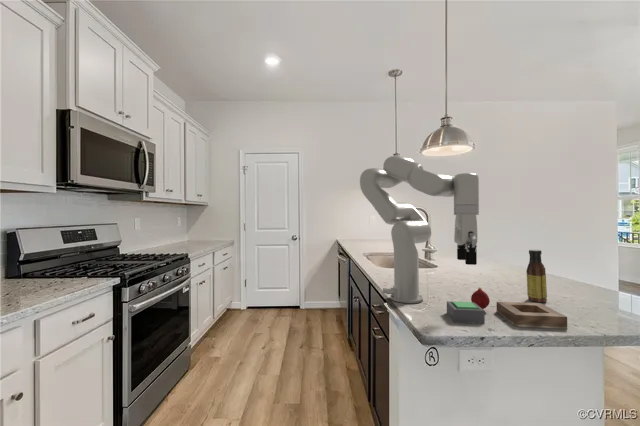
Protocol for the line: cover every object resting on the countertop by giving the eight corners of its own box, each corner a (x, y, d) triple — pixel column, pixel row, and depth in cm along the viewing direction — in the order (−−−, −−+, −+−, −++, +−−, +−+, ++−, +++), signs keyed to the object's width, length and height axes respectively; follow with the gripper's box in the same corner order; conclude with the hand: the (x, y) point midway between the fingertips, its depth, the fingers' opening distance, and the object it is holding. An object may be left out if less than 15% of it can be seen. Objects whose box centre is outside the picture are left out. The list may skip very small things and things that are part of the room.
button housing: (454, 322, 97) (454, 309, 97) (446, 312, 106) (446, 301, 106) (484, 323, 95) (484, 310, 95) (474, 313, 104) (474, 302, 104)
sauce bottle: (540, 298, 122) (540, 249, 122) (550, 303, 116) (550, 251, 116) (523, 298, 123) (522, 249, 123) (532, 302, 117) (532, 250, 117)
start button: (457, 316, 98) (457, 306, 98) (452, 310, 104) (452, 301, 104) (477, 316, 97) (477, 307, 97) (471, 310, 103) (471, 302, 103)
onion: (493, 312, 105) (492, 289, 105) (476, 312, 105) (475, 289, 105) (484, 307, 111) (484, 285, 111) (468, 307, 111) (468, 285, 111)
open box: (516, 326, 93) (516, 314, 93) (496, 311, 107) (496, 301, 107) (567, 328, 91) (567, 316, 91) (540, 313, 104) (540, 303, 104)
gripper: (448, 210, 111) (448, 258, 111) (461, 210, 94) (461, 266, 94) (470, 210, 109) (470, 258, 109) (487, 210, 92) (488, 266, 92)
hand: (466, 262), depth 102 cm, fingers open, 9 cm apart
